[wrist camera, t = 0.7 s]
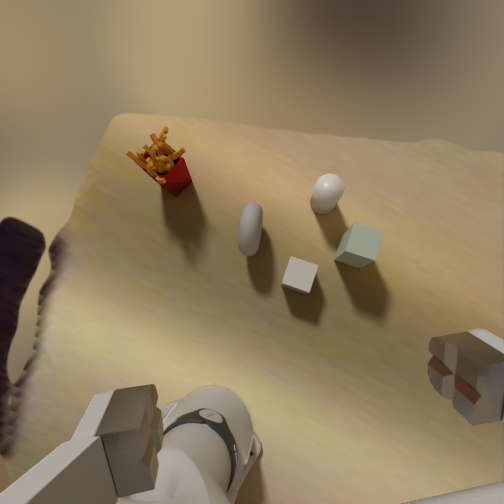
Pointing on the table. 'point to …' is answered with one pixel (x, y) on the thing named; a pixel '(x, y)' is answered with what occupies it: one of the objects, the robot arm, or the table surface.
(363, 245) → the sage block
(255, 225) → the donut
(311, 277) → the grey cube
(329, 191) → the white canister
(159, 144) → the french fries
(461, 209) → the table surface
